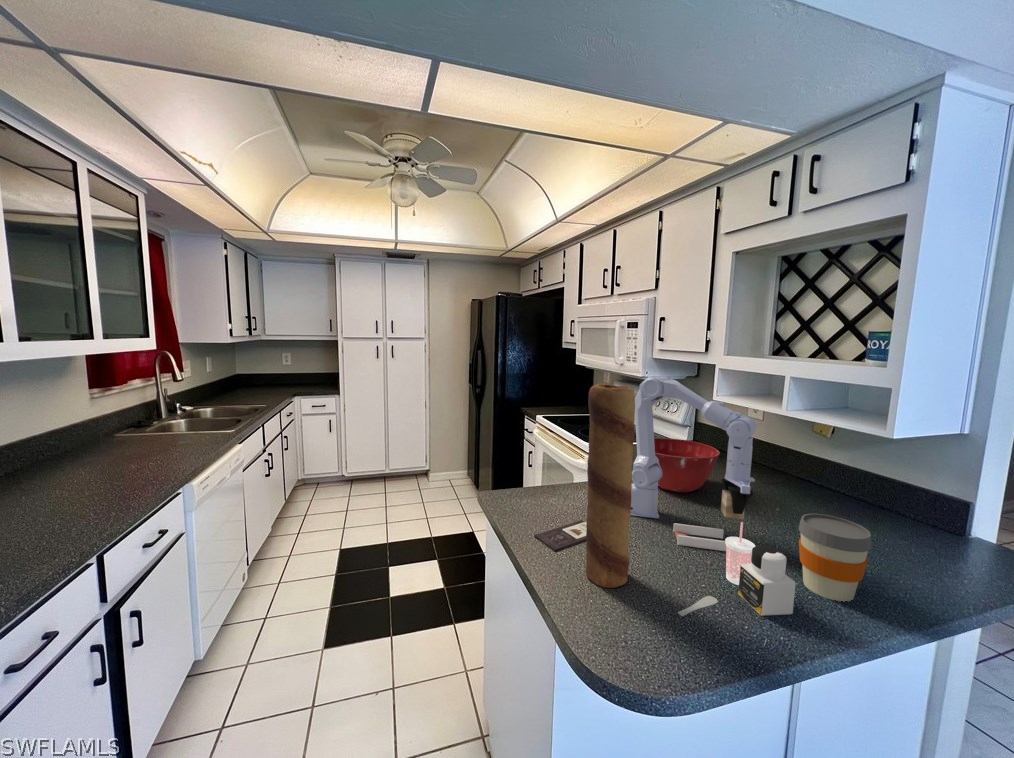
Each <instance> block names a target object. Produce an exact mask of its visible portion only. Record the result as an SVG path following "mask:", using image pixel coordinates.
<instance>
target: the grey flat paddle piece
mask: <svg viewBox="0 0 1014 758" xmlns="http://www.w3.org/2000/svg"><path fill="white" fill-rule="evenodd" d="M716 604H719V600H718V598H715V596H711V595H707V596H704V597H702V598H701V599H699V600H698V601H696V602H695V603H694V604H693V605H690V606H689V607H686V608H684V609H682V610H679V611H677V613H678V615H680V617H683V616H686V615H688V614H690V613H693V612H695V611H697V610H701V609H703V608H708V607H711V606H715V605H716Z"/></svg>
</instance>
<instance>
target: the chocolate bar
mask: <svg viewBox="0 0 1014 758" xmlns="http://www.w3.org/2000/svg"><path fill="white" fill-rule="evenodd" d="M586 531H587V521H584V520H582V519H581V520H578V521H575V522H573V523H570V524H569V523H568V524H565V525H562V526H560V527H556V528H553V529H549V530H546V531H543V532H540V533H537V534H534V535H533V537H534V538H535V539H536V540H538V541H539V542H540V543H542V544H543V545H545V546H546V547H547V548H549V549H550V550H552V551H553V552H555V553H556V552H558V551H562V550H564V549H568V548H571V547H572V546H573V547H574V546H575V545H579V544H581V543H584V542H586Z"/></svg>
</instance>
